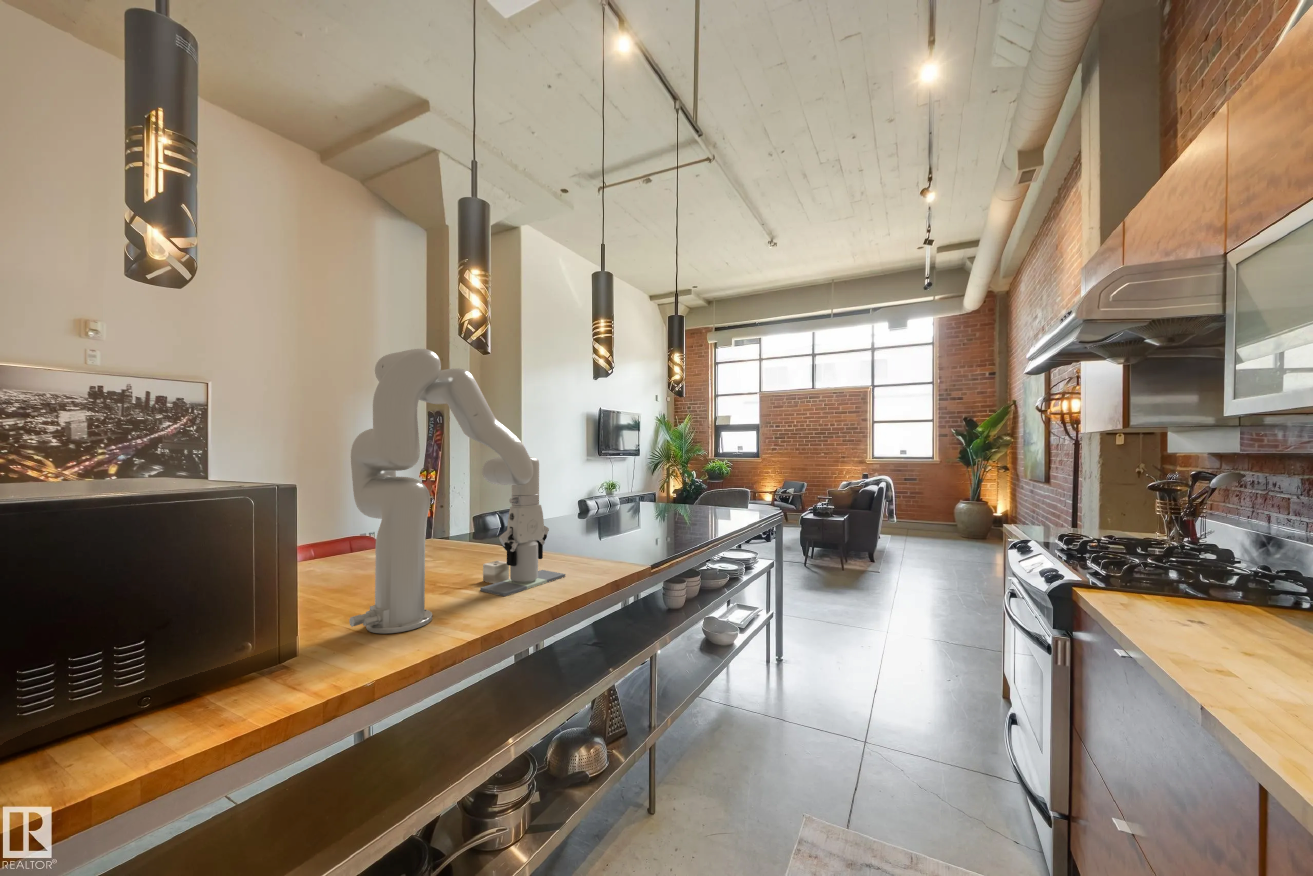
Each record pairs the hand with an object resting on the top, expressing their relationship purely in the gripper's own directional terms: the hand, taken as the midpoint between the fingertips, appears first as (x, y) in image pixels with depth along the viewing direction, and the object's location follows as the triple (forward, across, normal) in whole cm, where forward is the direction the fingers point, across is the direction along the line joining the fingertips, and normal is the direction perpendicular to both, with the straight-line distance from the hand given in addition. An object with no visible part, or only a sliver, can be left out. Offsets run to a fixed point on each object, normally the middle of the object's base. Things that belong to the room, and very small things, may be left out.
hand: (525, 561), depth 135 cm
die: (+6, -2, +10) cm, 12 cm away
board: (+6, 0, 0) cm, 6 cm away
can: (+5, 0, 0) cm, 5 cm away
